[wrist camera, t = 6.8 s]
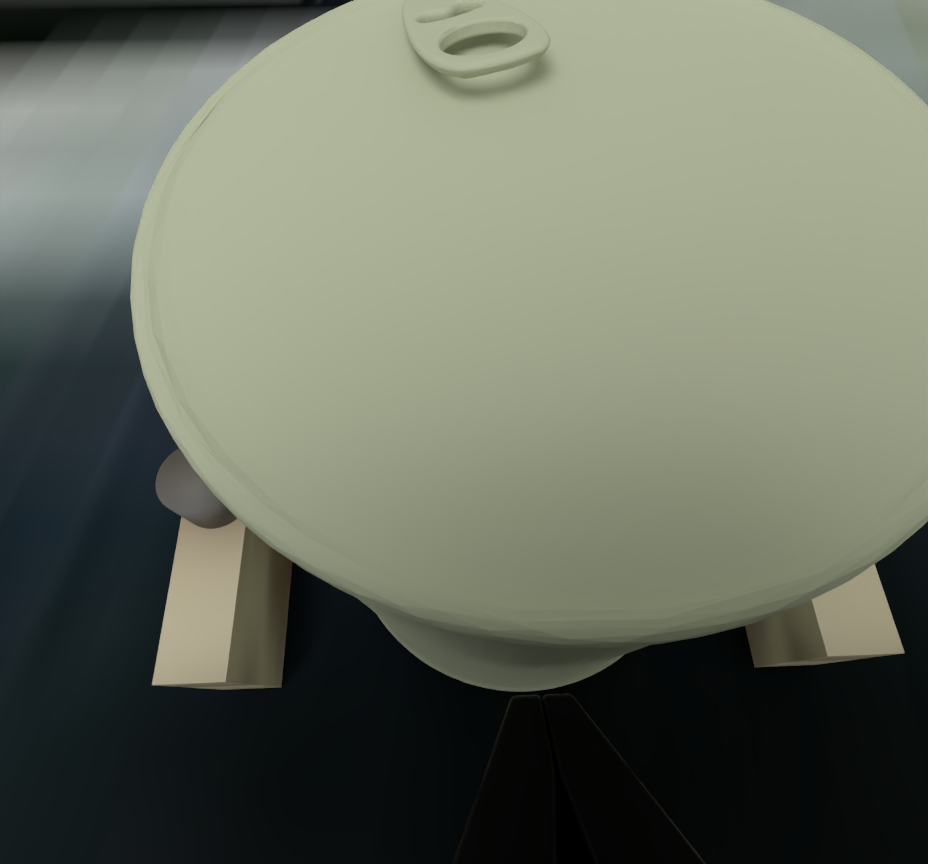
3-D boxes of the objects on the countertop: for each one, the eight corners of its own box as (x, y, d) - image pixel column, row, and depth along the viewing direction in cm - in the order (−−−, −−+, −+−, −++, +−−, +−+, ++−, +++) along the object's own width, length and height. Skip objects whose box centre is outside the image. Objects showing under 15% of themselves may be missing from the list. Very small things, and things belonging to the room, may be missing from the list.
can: (585, 338, 19) (713, -146, 8) (744, 607, 15) (1365, 368, 4) (315, 435, 18) (52, 22, 7) (415, 753, 14) (175, 904, 3)
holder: (817, 664, 15) (962, 645, 10) (221, 689, 15) (104, 681, 10) (721, 321, 19) (794, 201, 15) (265, 345, 19) (198, 236, 15)
